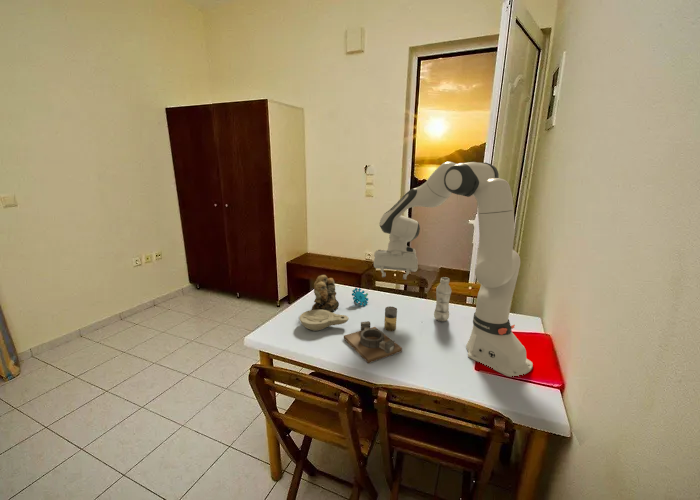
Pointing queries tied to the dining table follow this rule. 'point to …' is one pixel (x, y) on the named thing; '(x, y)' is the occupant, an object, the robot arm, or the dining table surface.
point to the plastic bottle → (442, 300)
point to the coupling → (390, 318)
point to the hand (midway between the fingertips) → (394, 277)
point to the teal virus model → (360, 296)
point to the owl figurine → (325, 294)
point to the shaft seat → (372, 343)
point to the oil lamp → (321, 319)
